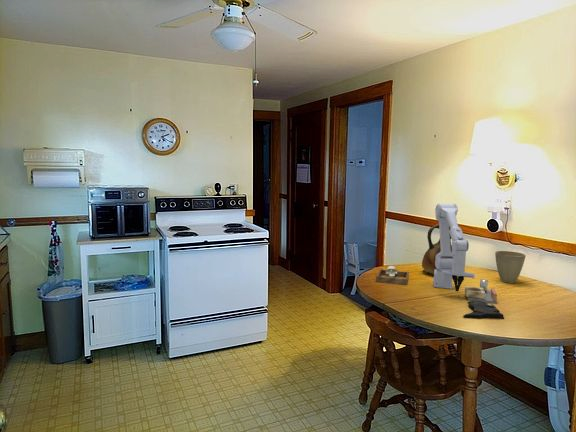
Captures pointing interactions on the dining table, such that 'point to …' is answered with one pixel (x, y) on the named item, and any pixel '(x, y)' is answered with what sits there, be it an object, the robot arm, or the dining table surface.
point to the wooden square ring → (474, 292)
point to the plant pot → (509, 265)
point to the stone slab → (483, 311)
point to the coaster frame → (392, 280)
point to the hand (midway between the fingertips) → (456, 290)
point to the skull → (391, 272)
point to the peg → (484, 284)
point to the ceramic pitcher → (432, 252)
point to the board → (487, 297)
